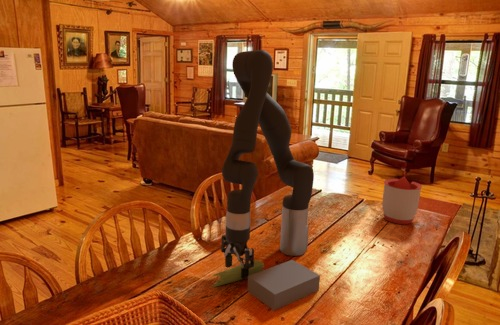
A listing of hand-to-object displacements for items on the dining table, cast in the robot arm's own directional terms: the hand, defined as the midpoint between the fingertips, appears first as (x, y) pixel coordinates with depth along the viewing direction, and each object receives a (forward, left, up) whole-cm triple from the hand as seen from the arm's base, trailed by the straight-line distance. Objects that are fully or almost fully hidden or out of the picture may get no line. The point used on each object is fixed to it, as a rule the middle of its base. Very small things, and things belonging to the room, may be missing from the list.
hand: (236, 272), depth 128 cm
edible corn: (0, +1, -2) cm, 3 cm away
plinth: (-7, +14, -2) cm, 16 cm away
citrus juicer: (-90, 0, -2) cm, 90 cm away
